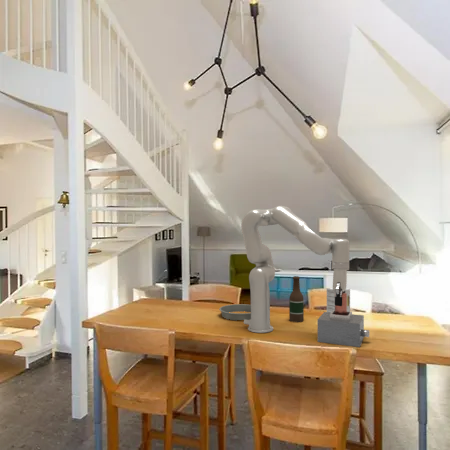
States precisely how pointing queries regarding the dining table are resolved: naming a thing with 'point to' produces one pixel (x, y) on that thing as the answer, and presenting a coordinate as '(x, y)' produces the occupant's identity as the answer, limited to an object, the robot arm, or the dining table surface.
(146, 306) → the dining table surface
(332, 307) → the supplement box
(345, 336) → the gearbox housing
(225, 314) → the cake pan
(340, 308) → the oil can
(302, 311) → the beer bottle
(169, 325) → the dining table surface
